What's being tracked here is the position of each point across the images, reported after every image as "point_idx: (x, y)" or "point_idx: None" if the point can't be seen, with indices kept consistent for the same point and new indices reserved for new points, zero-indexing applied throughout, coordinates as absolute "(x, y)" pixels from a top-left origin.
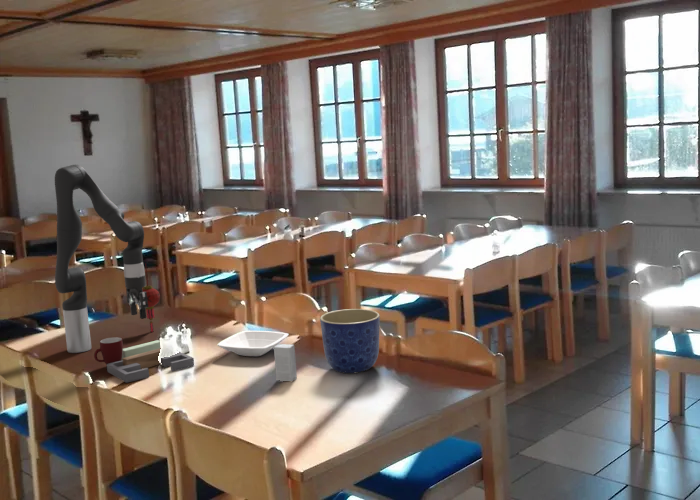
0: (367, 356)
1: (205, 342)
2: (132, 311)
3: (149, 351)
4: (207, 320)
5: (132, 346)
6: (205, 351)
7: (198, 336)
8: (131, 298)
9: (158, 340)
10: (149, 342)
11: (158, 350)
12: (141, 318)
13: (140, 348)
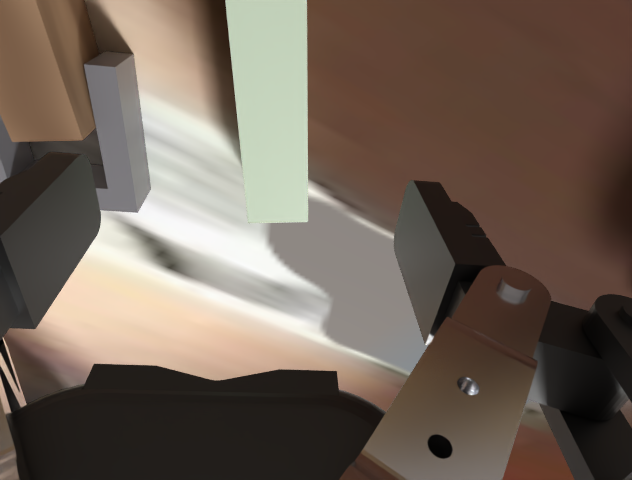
0: None
1: (265, 367)
2: (420, 217)
3: (33, 26)
4: (523, 468)
5: (303, 10)
6: (124, 314)
7: (374, 385)
8: (388, 418)
9: (293, 219)
10: (298, 160)
11: (20, 92)
12: (54, 158)
13: (230, 44)
